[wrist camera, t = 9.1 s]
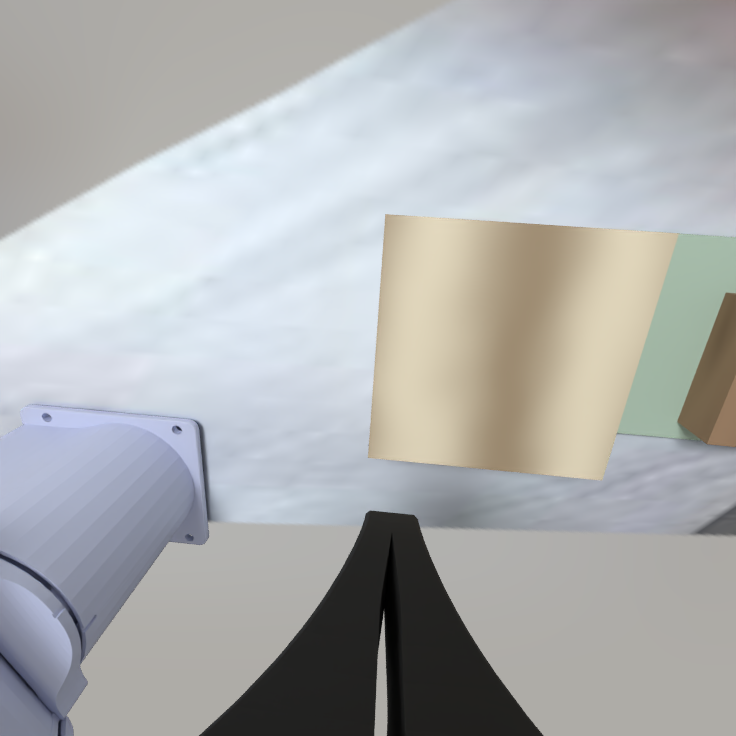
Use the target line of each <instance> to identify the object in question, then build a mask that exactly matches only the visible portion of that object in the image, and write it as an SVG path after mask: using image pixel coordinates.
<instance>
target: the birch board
mask: <svg viewBox="0 0 736 736" xmlns="http://www.w3.org/2000/svg"><path fill="white" fill-rule="evenodd" d="M678 235H679V234H678V233H663V232H647V231H632V230H617V229H602V228H586V227H571V226H556V225H540V224H525V223H510V222H495V221H479V220H464V219H449V218H433V217H418V216H403V215H388V214H385V228H384V242H383V256H382V270H381V284H380V298H379V312H378V326H377V340H376V354H375V368H374V382H373V396H372V410H371V424H370V438H369V452H368V458H375V459H386V460H396V461H407V462H417V463H427V464H438V465H448V466H458V467H469V468H479V469H489V470H500V471H510V472H520V473H531V474H541V475H551V476H562V477H572V478H582V479H593V480H602V479H603V476H604V473H605V470H606V466H607V463H608V460H609V457H610V454H611V450H612V447H613V444H614V441H615V437H616V434H617V431H618V428H619V425H620V421H621V418H622V415H623V412H624V409H625V405H626V402H627V399H628V396H629V393H630V389H631V386H632V383H633V380H634V376H635V373H636V370H637V367H638V364H639V360H640V357H641V354H642V351H643V348H644V344H645V341H646V338H647V335H648V331H649V328H650V325H651V322H652V319H653V315H654V312H655V309H656V306H657V303H658V299H659V296H660V293H661V290H662V287H663V283H664V280H665V277H666V274H667V270H668V267H669V264H670V261H671V258H672V254H673V251H674V248H675V245H676V242H677V238H678Z"/></svg>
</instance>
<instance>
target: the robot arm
mask: <svg viewBox="0 0 736 736" xmlns="http://www.w3.org/2000/svg"><path fill="white" fill-rule="evenodd" d="M48 414H49V415H50V416H51V417H50V416H49V415H48ZM20 415H21V419H22V423H23V425H22V426H20V427H18V428H17V429H15V430H13V431H11V432H9V433H8V434H6V435H4V436H2V437H0V736H74V732H73V726H72V724H71V722H70V720H69V718H68V717H67V716H66V715H67V714H68V712H69V711H70V709H71V708H72V706H73V705H74V703H75V702H76V700H77V699H78V697H79V696H80V695H81V693H82V692H83V690H84V688H85V687H86V686H87V684H88V681H87V680H86V678H85V677H84V675H83V673H82V671H81V668H80V664H81V663H82V661H83V660H84V659H85V657H86V656H87V655H88V653H89V652H90V650H91V649H92V648H93V646H94V645H95V644H96V642H97V641H98V639H99V638H100V636H101V635H102V634H103V632H104V631H105V629H106V628H107V627H108V625H109V624H110V623H111V621H112V620H113V618H114V617H115V616H116V614H117V613H118V612H119V610H120V609H121V607H122V606H123V605H124V603H125V602H126V600H127V599H128V598H129V596H130V595H131V593H132V592H133V591H134V589H135V588H136V586H137V585H138V583H139V582H140V581H141V579H142V578H143V577H144V575H145V574H146V573H147V571H148V570H149V568H150V567H151V566H152V564H153V563H154V561H155V560H156V559H157V557H158V556H159V554H160V553H161V552H162V550H163V549H164V547H165V546H166V545H167V543H168V542H178V543H187V544H196V545H202V544H205V542H206V541H207V539H208V538H209V530H208V519H207V509H206V498H205V488H204V477H203V466H202V456H201V445H200V434H199V427H198V425H197V423H196V422H194V421H193V420H190V419H182V418H171V417H161V416H150V415H139V414H129V413H118V412H107V411H97V410H86V409H75V408H65V407H54V406H43V405H33V404H32V405H27V406H25V407H24V408H22V409H21V411H20ZM176 425H177V426H179V427H180V428H181V429H182V431H180V430H178V429H177V428H176ZM189 534H191V535H192V536H191V535H189ZM383 613H384V615H385V616H384V617H385V646H386V669H387V670H386V673H387V698H388V699H387V700H388V703H387V704H388V705H387V707H388V724H387V736H543V735H542V733H541V732H540V731H539V730H538V728H537V727H536V726H535V725H534V724H533V722H532V721H531V720H530V719H529V717H528V716H527V715H526V714H525V712H524V711H523V710H522V708H521V707H520V705H519V704H518V703H517V701H516V700H515V699H514V698H513V696H512V695H511V693H510V692H509V691H508V689H507V688H506V687H505V685H504V684H503V683H502V681H501V680H500V679H499V677H498V676H497V675H496V673H495V672H494V670H493V669H492V667H491V666H490V664H489V663H488V661H487V660H486V658H485V657H484V655H483V654H482V652H481V651H480V649H479V648H478V646H477V644H476V643H475V641H474V640H473V638H472V636H471V635H470V633H469V632H468V630H467V628H466V627H465V625H464V623H463V621H462V620H461V618H460V616H459V614H458V613H457V611H456V609H455V607H454V605H453V603H452V601H451V599H450V598H449V596H448V594H447V592H446V590H445V588H444V586H443V584H442V582H441V579H440V577H439V575H438V573H437V571H436V569H435V566H434V564H433V562H432V560H431V557H430V555H429V552H428V550H427V547H426V545H425V542H424V539H423V536H422V533H421V530H420V526H419V523H418V519H417V518H416V517H415V515H408V514H398V513H388V512H379V511H369V512H368V513H366V516H365V520H364V523H363V526H362V529H361V531H360V534H359V536H358V538H357V540H356V542H355V545H354V547H353V549H352V551H351V553H350V555H349V556H348V558H347V560H346V562H345V564H344V566H343V568H342V569H341V571H340V573H339V574H338V576H337V578H336V579H335V581H334V582H333V584H332V586H331V587H330V589H329V590H328V592H327V594H326V595H325V597H324V598H323V600H322V601H321V603H320V604H319V606H318V607H317V608H316V610H315V611H314V613H313V614H312V615H311V617H310V618H309V619H308V621H307V622H306V623H305V625H304V626H303V628H302V629H301V630H300V631H299V632H298V633H297V635H296V636H295V637H294V639H293V640H292V641H291V642H290V643H289V645H288V646H287V647H286V648H285V650H284V651H283V652H282V653H281V654H280V655H279V656H278V658H277V659H276V660H275V661H274V662H273V663H272V664H271V665H270V666H269V668H268V669H267V670H266V671H265V672H264V673H263V674H262V675H261V676H260V677H259V678H258V679H257V680H256V681H255V683H253V685H252V686H251V687H250V688H249V689H248V690H247V691H246V692H245V693H244V694H243V695H242V696H241V697H240V698H239V699H238V700H237V701H236V702H235V703H234V704H233V705H232V706H231V707H230V708H229V709H227V710H226V712H224V713H223V714H222V715H221V716H220V717H219V718H218V719H217V720H216V721H214V723H212V724H211V725H210V726H209V727H208V728H207V729H206V730H205V731H204V732H203V733H202V734H200V735H199V736H374V726H375V702H376V701H375V700H376V679H377V657H378V648H379V641H380V634H381V627H382V620H383Z"/></svg>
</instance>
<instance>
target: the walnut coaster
mask: <svg viewBox="0 0 736 736" xmlns="http://www.w3.org/2000/svg"><path fill="white" fill-rule="evenodd" d="M677 422H678V423H679V424H681V425H682V426H683V427H685V428H686V429H687V430H689V431H690V432H691V433H693V434H694V435H695V436H697V437H698V438H699V439H701V440H702V441H703V442H705V443H706V444H711V445H721V446H731V447H736V293H725V296H724V299H723V301H722V304H721V307H720V309H719V312H718V315H717V317H716V320H715V323H714V325H713V328H712V330H711V333H710V336H709V338H708V341H707V344H706V346H705V349H704V352H703V354H702V357H701V360H700V362H699V365H698V368H697V370H696V373H695V375H694V378H693V381H692V383H691V386H690V389H689V391H688V394H687V397H686V399H685V402H684V405H683V407H682V410H681V413H680V415H679V418H678V421H677Z"/></svg>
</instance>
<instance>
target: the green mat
mask: <svg viewBox="0 0 736 736" xmlns="http://www.w3.org/2000/svg"><path fill="white" fill-rule="evenodd" d="M725 293H736V237H722V236H706V235H691V234H679V235H678V238H677V242H676V245H675V248H674V251H673V254H672V258H671V261H670V264H669V267H668V270H667V274H666V277H665V280H664V283H663V287H662V290H661V293H660V296H659V299H658V303H657V306H656V309H655V312H654V315H653V319H652V322H651V325H650V328H649V331H648V335H647V338H646V341H645V344H644V348H643V351H642V354H641V357H640V360H639V364H638V367H637V370H636V373H635V376H634V380H633V383H632V386H631V389H630V393H629V396H628V399H627V402H626V405H625V409H624V412H623V415H622V418H621V421H620V425H619V428H618V431H617V433H622V434H633V435H644V436H656V437H667V438H678V439H689V440H700V441H702V440H701V439H699V438H698V437H697V436H695V435H694V434H693V433H691V432H690V431H689V430H687V429H686V428H685V427H683V426H682V425H681V424H679V423H678V422H677V421H678V418H679V415H680V413H681V410H682V407H683V405H684V402H685V399H686V397H687V394H688V391H689V389H690V386H691V383H692V381H693V378H694V375H695V373H696V370H697V368H698V365H699V362H700V360H701V357H702V354H703V352H704V349H705V346H706V344H707V341H708V338H709V336H710V333H711V330H712V328H713V325H714V323H715V320H716V317H717V315H718V312H719V309H720V307H721V304H722V301H723V299H724V296H725Z"/></svg>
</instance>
